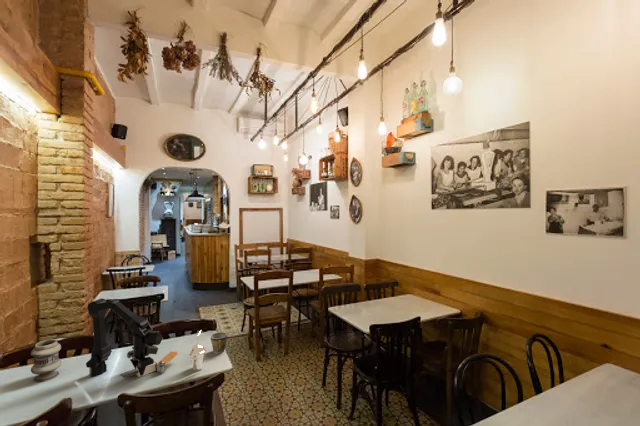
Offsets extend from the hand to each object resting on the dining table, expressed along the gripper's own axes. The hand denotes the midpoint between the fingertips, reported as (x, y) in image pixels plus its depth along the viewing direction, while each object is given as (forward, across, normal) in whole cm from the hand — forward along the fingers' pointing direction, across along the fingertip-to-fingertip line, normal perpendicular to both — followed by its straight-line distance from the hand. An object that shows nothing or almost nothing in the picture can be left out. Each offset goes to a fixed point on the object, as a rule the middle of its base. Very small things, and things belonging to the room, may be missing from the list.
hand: (140, 374), depth 159 cm
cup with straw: (+2, -17, -22) cm, 28 cm away
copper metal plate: (-4, -4, -12) cm, 13 cm away
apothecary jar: (+2, +38, +30) cm, 49 cm away
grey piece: (+1, 0, -2) cm, 2 cm away
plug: (0, 0, 0) cm, 0 cm away
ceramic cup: (+2, -8, -42) cm, 42 cm away
